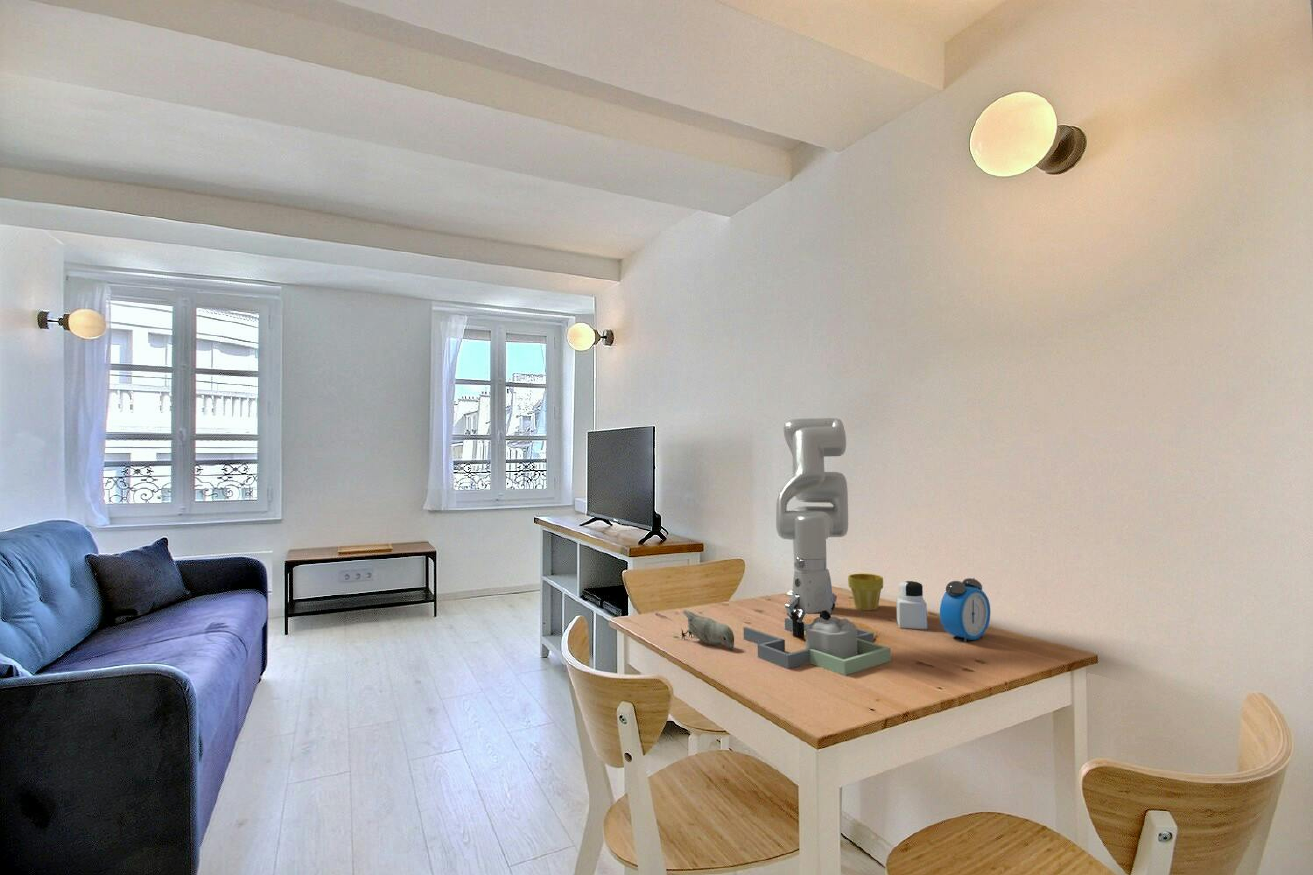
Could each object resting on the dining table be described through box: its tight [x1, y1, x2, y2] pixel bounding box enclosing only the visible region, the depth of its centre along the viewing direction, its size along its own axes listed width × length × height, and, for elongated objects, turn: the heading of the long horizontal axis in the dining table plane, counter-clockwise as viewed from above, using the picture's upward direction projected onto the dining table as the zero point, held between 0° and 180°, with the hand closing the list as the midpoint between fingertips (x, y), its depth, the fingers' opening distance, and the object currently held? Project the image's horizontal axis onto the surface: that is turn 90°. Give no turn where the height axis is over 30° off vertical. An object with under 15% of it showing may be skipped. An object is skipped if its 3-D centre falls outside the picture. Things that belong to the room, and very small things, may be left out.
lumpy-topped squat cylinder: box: [805, 616, 858, 659], centre depth 149 cm, size 10×13×9 cm
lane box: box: [743, 617, 892, 676], centre depth 154 cm, size 33×30×3 cm
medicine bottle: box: [896, 580, 928, 630], centre depth 174 cm, size 7×7×12 cm
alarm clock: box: [939, 577, 991, 643], centre depth 162 cm, size 13×6×15 cm, turn 120°
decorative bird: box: [681, 609, 735, 651], centre depth 160 cm, size 5×16×8 cm, turn 45°
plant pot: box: [847, 572, 884, 611], centre depth 194 cm, size 10×10×10 cm
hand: (812, 634), depth 154 cm, fingers open, 9 cm apart
